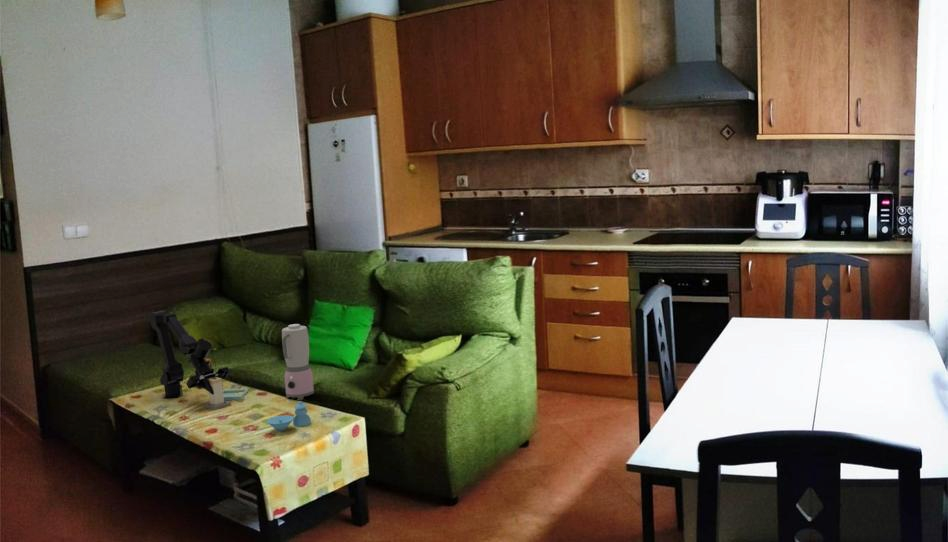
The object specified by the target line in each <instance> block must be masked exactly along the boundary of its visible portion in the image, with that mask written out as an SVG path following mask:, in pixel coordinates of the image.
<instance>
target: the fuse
mask: <svg viewBox="0 0 948 542" xmlns="http://www.w3.org/2000/svg"><path fill="white" fill-rule="evenodd" d="M208 381H209V383H210V385H211V387H212V389H213V392H214V394H213V395H212V394H211V393H210V392H208V394H209V395H208V397H209V403H210V405H212V406H218V405H221V404H224V396H223V390H224V385H223V386H222V383H223V382H222V381H223V379H222V378H217V377H215V378H211V379H208Z"/></svg>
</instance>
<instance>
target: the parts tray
mask: <svg viewBox="0 0 948 542" xmlns="http://www.w3.org/2000/svg"><path fill="white" fill-rule="evenodd" d="M239 392H243V393H242V394H241V395H239V396H238V394H237V395H236V394H235V393H239ZM247 392H248V393H249V388H246V389H223V396H224V401H240V400H243V399H244V398H245V396H246V395H247V394H248V393H247ZM246 393H247V394H246ZM245 394H246V395H245Z"/></svg>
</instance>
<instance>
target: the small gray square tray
mask: <svg viewBox="0 0 948 542" xmlns="http://www.w3.org/2000/svg"><path fill="white" fill-rule="evenodd" d="M231 405H232V403H231V402H230V401H228V400H225V401H224V404H221V405H218V406H212V405H210V402H208V403H204V404H203V408H205V409H209V410H213V411H216V410H219V409H223V408H226V407H229V406H231Z"/></svg>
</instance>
